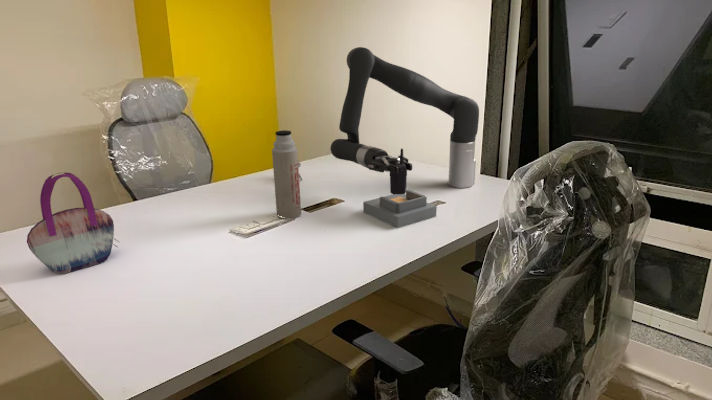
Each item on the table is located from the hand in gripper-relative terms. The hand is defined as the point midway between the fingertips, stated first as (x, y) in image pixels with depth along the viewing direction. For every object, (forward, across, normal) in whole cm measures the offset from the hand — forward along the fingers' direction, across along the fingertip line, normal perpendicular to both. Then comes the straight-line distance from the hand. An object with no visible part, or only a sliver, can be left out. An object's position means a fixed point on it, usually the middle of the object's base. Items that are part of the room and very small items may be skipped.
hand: (404, 168), depth 161 cm
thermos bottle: (-24, -29, +17) cm, 41 cm away
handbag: (-27, -91, +17) cm, 96 cm away
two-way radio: (-3, 0, +9) cm, 10 cm away
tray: (-2, 0, +16) cm, 16 cm away
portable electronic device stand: (-59, -9, +17) cm, 62 cm away
